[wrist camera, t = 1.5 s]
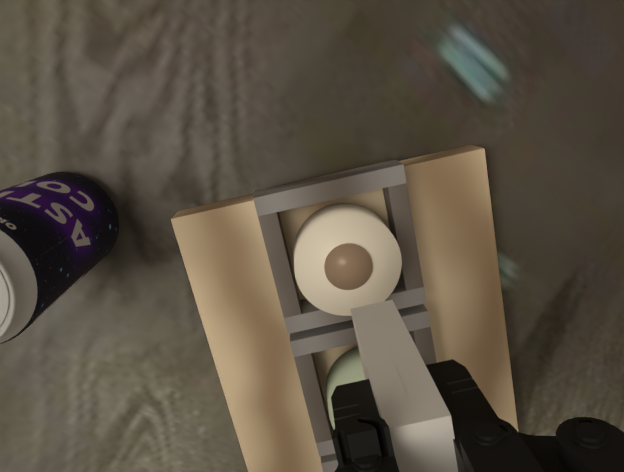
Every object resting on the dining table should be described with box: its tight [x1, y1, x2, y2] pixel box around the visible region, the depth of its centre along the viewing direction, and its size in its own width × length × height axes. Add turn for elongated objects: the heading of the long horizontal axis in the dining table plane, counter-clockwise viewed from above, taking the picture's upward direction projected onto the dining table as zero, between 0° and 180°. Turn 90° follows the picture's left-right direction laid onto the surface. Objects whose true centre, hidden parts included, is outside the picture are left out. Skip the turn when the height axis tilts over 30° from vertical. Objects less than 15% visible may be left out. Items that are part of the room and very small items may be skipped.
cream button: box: [293, 203, 402, 316], centre depth 26 cm, size 5×5×3 cm
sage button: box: [326, 346, 366, 429], centre depth 29 cm, size 5×5×3 cm
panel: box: [171, 145, 518, 472], centre depth 32 cm, size 18×25×4 cm
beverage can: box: [0, 172, 119, 344], centre depth 24 cm, size 6×6×12 cm
